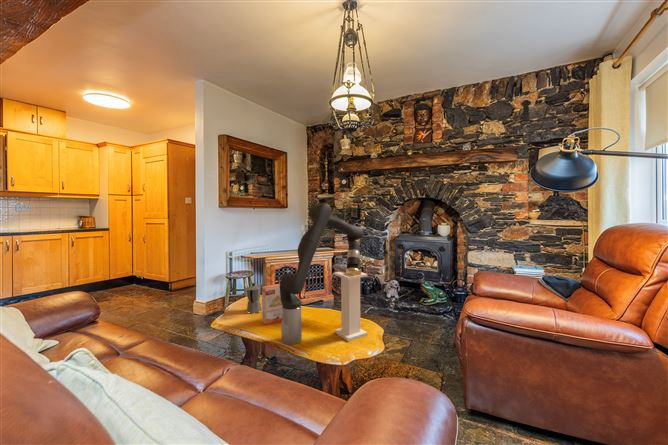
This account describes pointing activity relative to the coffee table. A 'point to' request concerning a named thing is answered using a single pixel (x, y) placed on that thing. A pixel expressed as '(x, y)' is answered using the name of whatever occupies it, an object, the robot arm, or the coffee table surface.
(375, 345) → the coffee table surface
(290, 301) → the robot arm
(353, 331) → the white pillar
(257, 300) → the coffeepot
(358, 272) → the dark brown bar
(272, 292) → the cracker box
